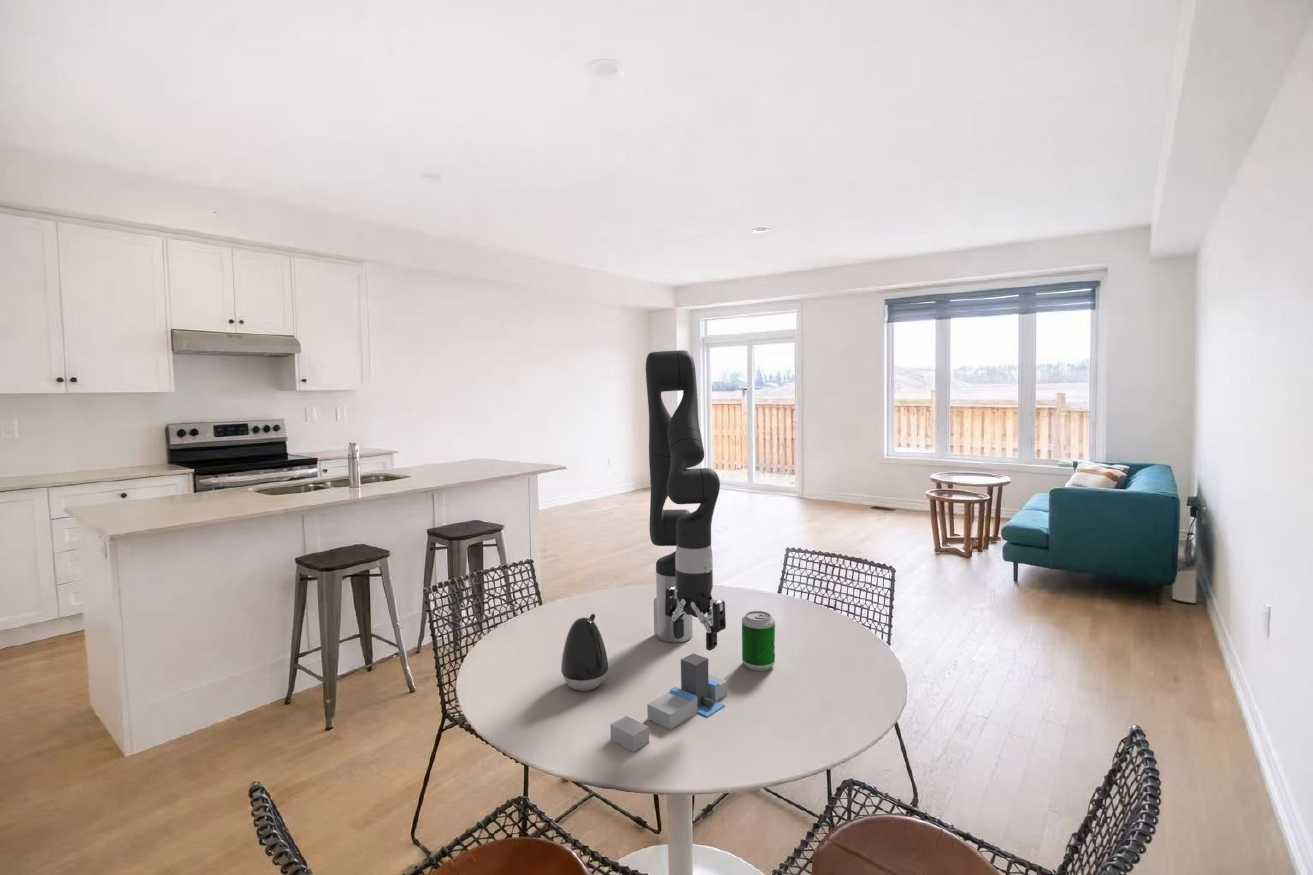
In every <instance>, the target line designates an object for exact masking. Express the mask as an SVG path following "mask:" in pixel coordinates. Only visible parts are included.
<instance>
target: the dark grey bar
mask: <svg viewBox="0 0 1313 875" xmlns="http://www.w3.org/2000/svg"><path fill="white" fill-rule="evenodd" d="M708 674H709V658H707V657H704V656H702V655H699V654H696V653H694V652H693V653H691V654H689V655H687V656H685V657H684V658H681V659H680V689H681V690H684V691H686V692H688V693H691V694H693V695H696V696H697V707H699V706H700V705H702V704H704V705H706V706H708V707H711V708H712V707H713V705H714V701H713V700H711V699H709V686H708Z"/></svg>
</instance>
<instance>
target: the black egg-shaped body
mask: <svg viewBox="0 0 1313 875" xmlns="http://www.w3.org/2000/svg"><path fill="white" fill-rule="evenodd" d="M595 619H596V614H594V613H591V614H590V615H589V617H580V618H577V619H575V621H574V622H573V623H572V624H571V626H570V628H569V630H568V632H567V636H566V639H565V642H564V646H563V649H562V650H563V651H562V657H561V668H560V669H561V675H562V676H563V678H564V681H565V682H566V684H567V685H568V686H569V687H570V688H571V689H574V690H577V691H582V692H585V691H586V692H587V691H592V690H594V689H597V688H598V687H599V686H600V685H601V684H602V683H603V682H604V680H605V679H606V676H607V672H608V671H609V661H608V655H607V650H606V645H605V642H604V639H603V637H602V633H601V632H600V630H599V627H598V625H597V623H595Z"/></svg>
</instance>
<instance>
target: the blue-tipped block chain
mask: <svg viewBox="0 0 1313 875" xmlns="http://www.w3.org/2000/svg"><path fill="white" fill-rule="evenodd" d="M708 686H709V699H711V700H713V701H714V705H713V707H712V708H711V707H708V706H706V705H704V704H702V705H700V706H699V707H697V696H696V695H693V694H691V693H688V692H686V691H684V690H681V688H679V687H676V686H673V687H671V688H670V689H669V692H667V693H665V694H663V695H661V696H660V697H658V698H656V699H654V700H652V701H651V702H648V703H647V704H646V706H647V708H646V710H647V713H646V714H647V719H648V720H649V721H652V722H653V723H656V724H657V725H660V726H662V727H664V728H666V729H668V730H672V729H674V728H675V727H677V726H679V725H681V724H682V723H683V722H686V721H687V720H688V719H691V718H692V717H693V716H695V715H697V714H699V715H702V716H703V717H706V718H709V717H710V716H712V715H713V714H716V713H717V712H718V711H720V710H722V709H723V708H724V707H726V704H724V703H722V702H719V701H720V700H721V699H723V698H724V697H726V696H728V680H725V679H722V678H721V677H717V676H715V675H712V674H710V673H708ZM610 741H612V742H614V743H616V744H618V745H620V746H621V747H624V748H625V749H627V750H629V751H630V752H636V751H638V750H639V749H641V748H643V747H644V746H646V745H648V744H649V743H650V727H649V726H648V725H646V724H645V723H642V722H640V721H638V720H636V719H634V718H632V717H630V716H629V715H625V716H623V717H621V718H618V720H615V721H614V722H612V723H611V724H610Z"/></svg>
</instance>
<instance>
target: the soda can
mask: <svg viewBox="0 0 1313 875" xmlns="http://www.w3.org/2000/svg"><path fill="white" fill-rule="evenodd" d="M741 645H742V646H741V660H742V663H743V664H744V665H745V666H746V668H747V669H749V670H752V671H755V672H764V671H765V672H766V671H768V670H770V669H771V668H772V667H773V666H774V665H775V663H776V620H775V618H774V617H773V616H772V615H771V613H769V612H767V611H762V610H752V611H748V612H746V613H745V615H743V617H742V619H741Z"/></svg>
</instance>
